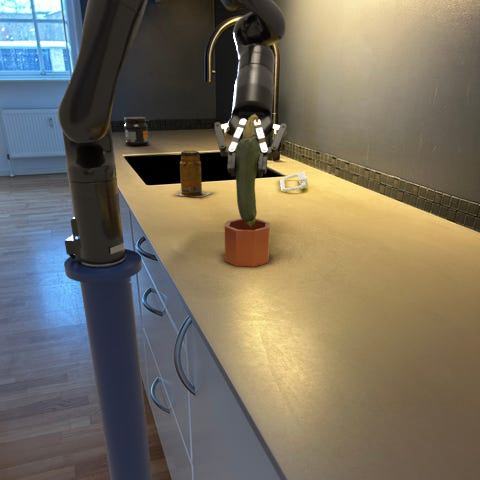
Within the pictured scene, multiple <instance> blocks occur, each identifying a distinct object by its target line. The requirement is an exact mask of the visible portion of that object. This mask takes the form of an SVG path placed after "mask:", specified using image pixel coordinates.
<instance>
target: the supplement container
mask: <svg viewBox="0 0 480 480" xmlns="http://www.w3.org/2000/svg"><path fill="white" fill-rule="evenodd" d="M146 122H147V117H145V116H126V117H124V123H125V124H123V125H124V126H123V129H124V137H125V144H126V145H127V146H128V147H134V148H135V147H146V146H148V145H149V144H150V141H149V133H148V132H149V131H148V124H147V123H146Z"/></svg>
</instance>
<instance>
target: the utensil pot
mask: <svg viewBox="0 0 480 480" xmlns="http://www.w3.org/2000/svg"><path fill="white" fill-rule="evenodd" d="M270 232H271V222H269V221H266V220H262V219H260V218H256V219H255V223H254V225H252V227H251V226H249V225H248V224H246V223H245V221H243V220H242V218H241V217H240V218H237V219H232V220H231V219H230V220H227V221H226V223H225V225H224V262H227V263H229V264H231V265H233V266H235V267H254V268H255V267H258V266H261V265H264V264H268V263H269V259H270V238H271V237H270V236H271V235H270V234H271V233H270Z"/></svg>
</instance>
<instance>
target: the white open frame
mask: <svg viewBox="0 0 480 480" xmlns="http://www.w3.org/2000/svg"><path fill="white" fill-rule="evenodd" d="M293 178H298V183H299V185H297V186H293V187H286V184H285V181H287V180H290V179H293ZM279 182H280V184H279V185H280V190H281V192H283V193H290V192H295V191H298V190H299V191H300V190H301V191H302V190H303V189H307V188H309V183H308V179H307V175H306V171H297V172H296V173H293V174H289V175H285V176H283V177H281V178H280V179H279Z"/></svg>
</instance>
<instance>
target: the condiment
mask: <svg viewBox="0 0 480 480" xmlns="http://www.w3.org/2000/svg"><path fill="white" fill-rule="evenodd" d="M179 173H180V190H181V192H179V193H175V196H182V197H192V198H204V197H207V196H209V195H211V194H213V192H211V191H204V190H203V187H202V186H203V184H202V183H203V182H202V162H201V159H200V152H199V151H197V150H182V151H181V152H180V162H179Z"/></svg>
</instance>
